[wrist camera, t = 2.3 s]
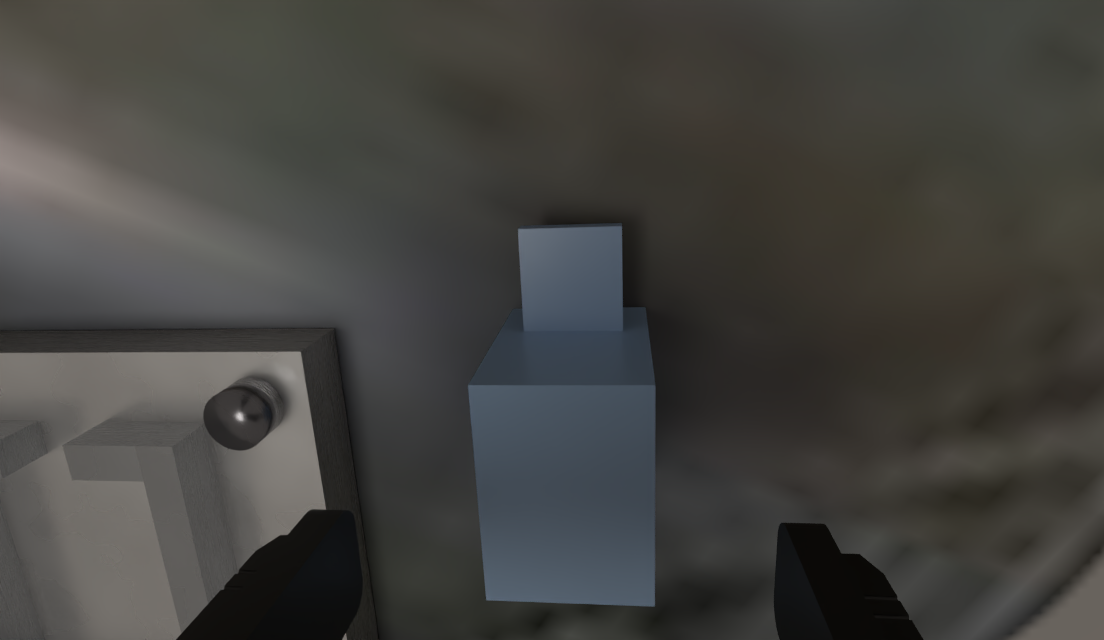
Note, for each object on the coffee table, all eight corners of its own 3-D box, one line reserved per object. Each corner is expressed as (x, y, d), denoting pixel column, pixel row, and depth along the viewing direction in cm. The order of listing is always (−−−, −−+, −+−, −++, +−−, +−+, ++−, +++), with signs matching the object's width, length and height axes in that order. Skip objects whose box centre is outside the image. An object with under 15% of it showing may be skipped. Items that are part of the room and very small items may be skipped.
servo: (507, 217, 17) (457, 258, 12) (645, 213, 17) (656, 253, 11) (527, 542, 20) (493, 691, 15) (645, 545, 20) (654, 700, 14)
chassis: (-99, 331, 20) (-239, 372, 17) (334, 328, 18) (272, 371, 15) (25, 691, 24) (-69, 780, 21) (389, 713, 22) (349, 812, 19)
